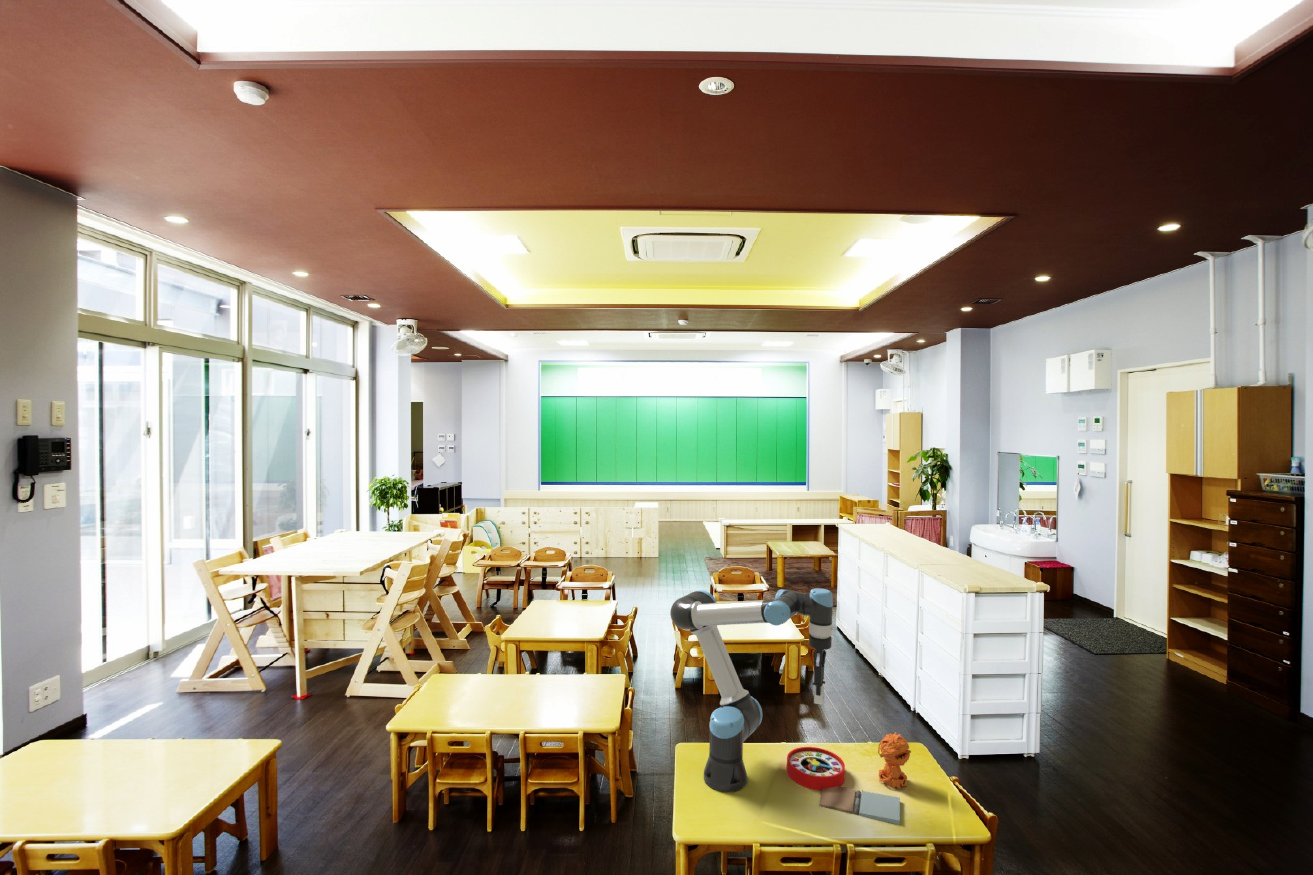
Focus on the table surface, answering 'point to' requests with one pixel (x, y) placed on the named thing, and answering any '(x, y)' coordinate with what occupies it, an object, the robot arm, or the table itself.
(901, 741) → the orange figurine
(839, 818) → the table surface
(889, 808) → the hinge leaf
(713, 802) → the table surface
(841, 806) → the hinge base
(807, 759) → the toy clock
